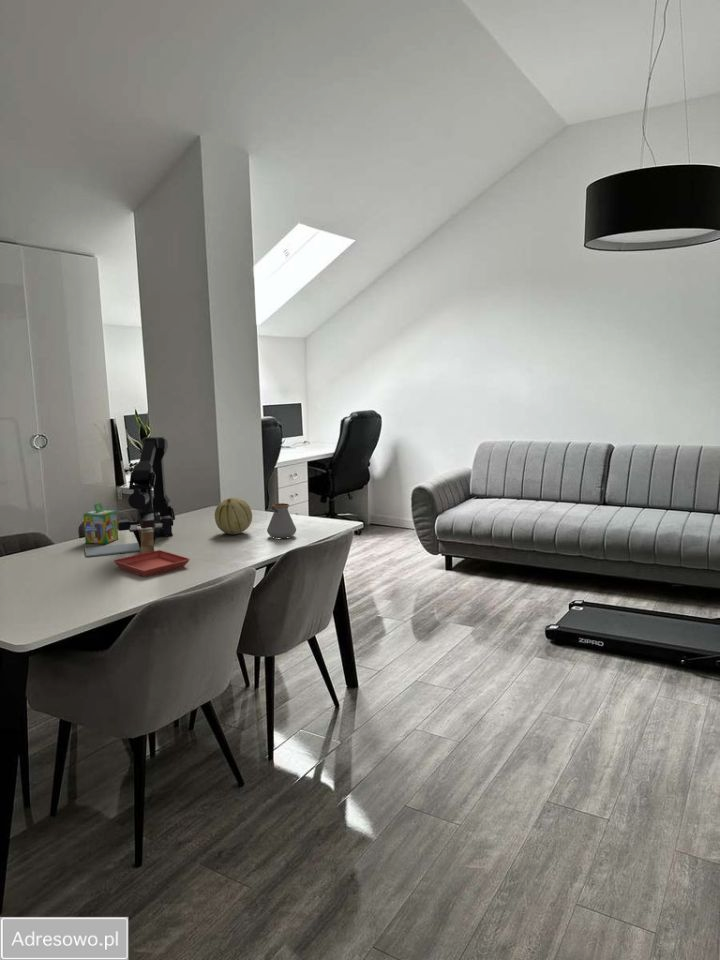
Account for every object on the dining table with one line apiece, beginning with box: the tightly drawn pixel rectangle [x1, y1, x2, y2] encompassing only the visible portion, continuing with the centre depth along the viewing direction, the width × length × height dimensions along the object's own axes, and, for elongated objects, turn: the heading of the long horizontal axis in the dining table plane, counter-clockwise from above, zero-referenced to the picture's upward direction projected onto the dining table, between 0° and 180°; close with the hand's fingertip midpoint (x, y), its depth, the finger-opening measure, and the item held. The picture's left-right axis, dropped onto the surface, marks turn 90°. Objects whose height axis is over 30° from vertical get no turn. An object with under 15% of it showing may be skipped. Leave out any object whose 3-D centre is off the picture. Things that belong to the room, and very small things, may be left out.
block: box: [137, 526, 155, 554], centre depth 253 cm, size 4×8×9 cm, turn 24°
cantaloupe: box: [214, 497, 253, 535], centre depth 283 cm, size 15×15×15 cm
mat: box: [83, 542, 140, 558], centre depth 259 cm, size 20×12×1 cm, turn 114°
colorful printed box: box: [83, 502, 119, 545], centre depth 272 cm, size 9×9×15 cm
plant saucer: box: [113, 549, 191, 577], centre depth 235 cm, size 18×18×3 cm
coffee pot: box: [266, 502, 297, 539], centre depth 272 cm, size 21×12×15 cm, turn 174°
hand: (146, 546), depth 253 cm, fingers closed on block, 4 cm apart
